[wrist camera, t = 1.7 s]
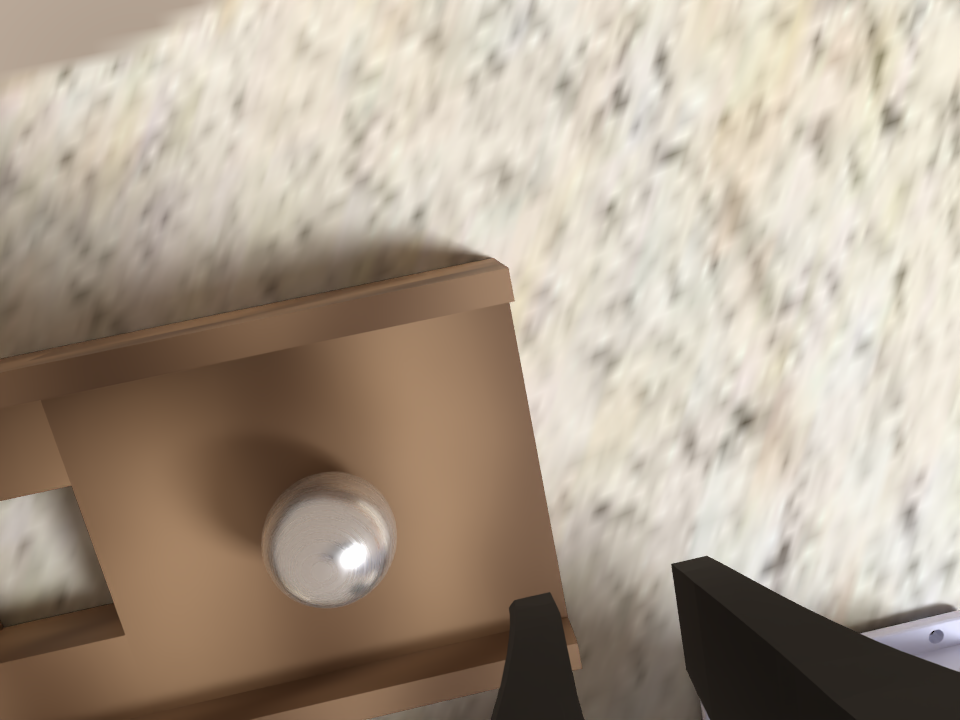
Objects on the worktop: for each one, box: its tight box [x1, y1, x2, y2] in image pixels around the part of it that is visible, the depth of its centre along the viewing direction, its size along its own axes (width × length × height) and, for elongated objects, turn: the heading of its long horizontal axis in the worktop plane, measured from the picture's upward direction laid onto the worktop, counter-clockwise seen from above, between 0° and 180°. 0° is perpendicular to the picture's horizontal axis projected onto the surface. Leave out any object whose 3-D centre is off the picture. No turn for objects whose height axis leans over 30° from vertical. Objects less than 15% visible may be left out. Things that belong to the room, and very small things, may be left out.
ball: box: [261, 472, 397, 608], centre depth 17 cm, size 3×3×3 cm
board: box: [0, 258, 582, 720], centre depth 18 cm, size 18×11×3 cm, turn 101°
